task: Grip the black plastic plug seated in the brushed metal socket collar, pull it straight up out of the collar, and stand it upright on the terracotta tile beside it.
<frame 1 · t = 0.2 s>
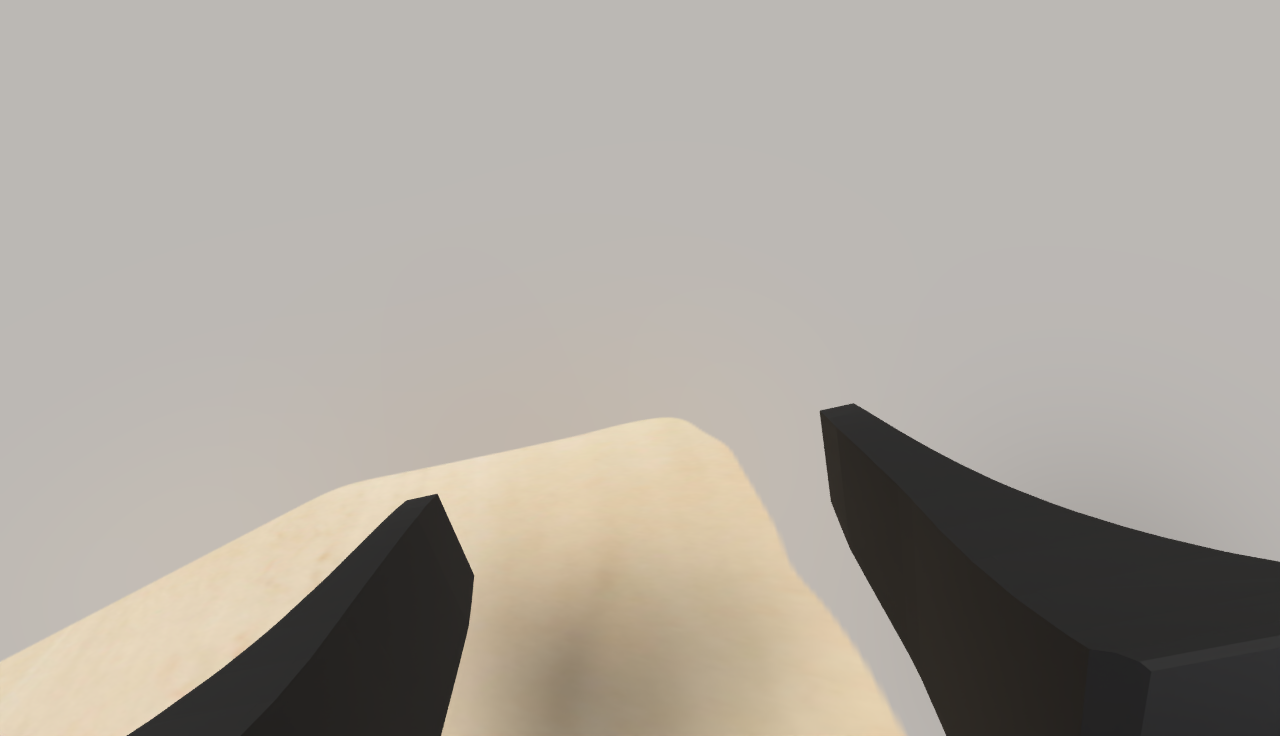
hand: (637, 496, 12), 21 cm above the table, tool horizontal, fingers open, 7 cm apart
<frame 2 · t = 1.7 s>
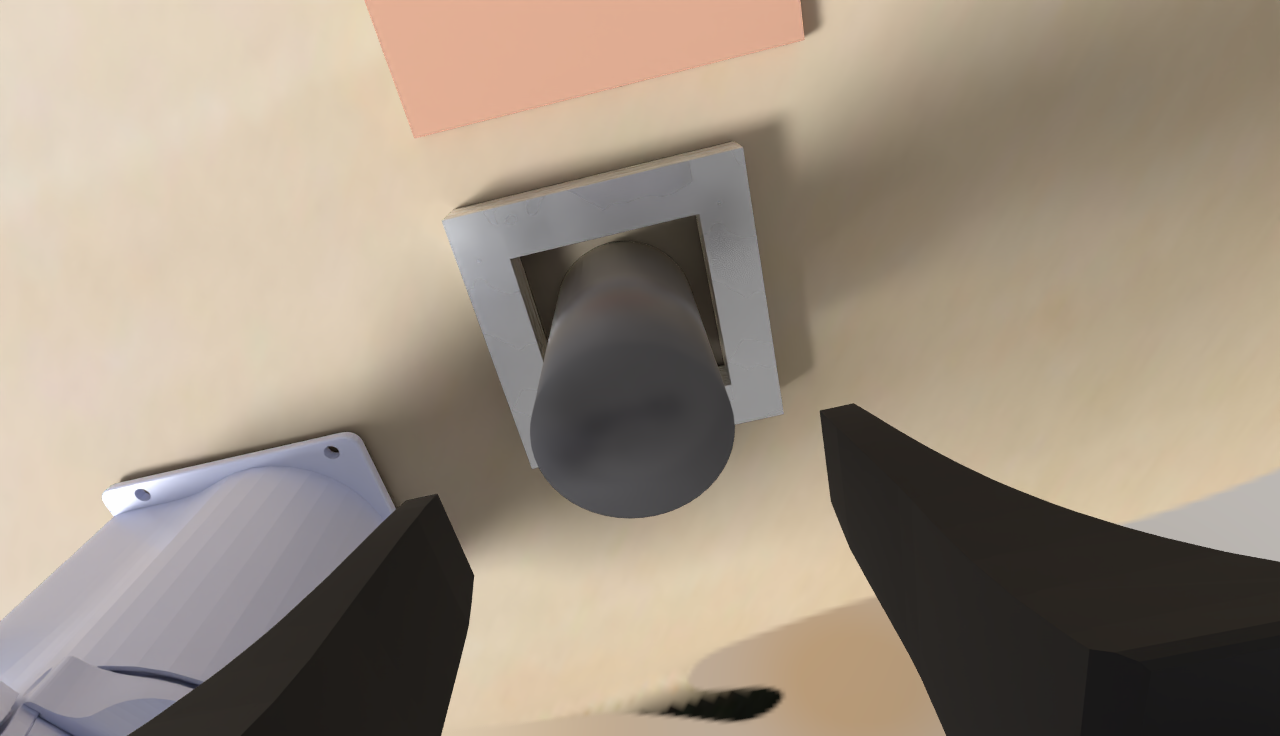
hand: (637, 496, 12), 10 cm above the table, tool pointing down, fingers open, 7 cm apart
socket collar: (625, 308, 21), on the table
plug: (625, 307, 21), resting in socket collar
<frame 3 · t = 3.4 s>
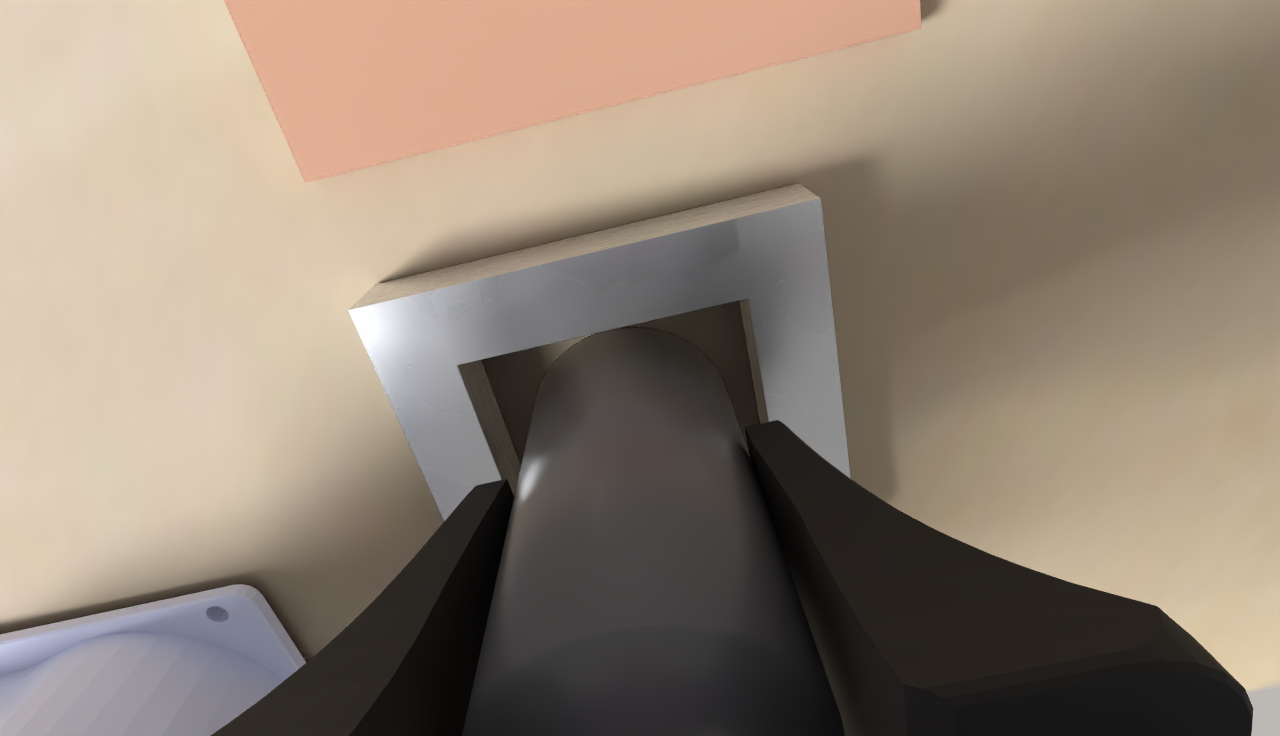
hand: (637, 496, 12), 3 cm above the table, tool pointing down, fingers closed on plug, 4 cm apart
socket collar: (632, 418, 15), on the table
plug: (632, 418, 15), resting in socket collar, touching gripper
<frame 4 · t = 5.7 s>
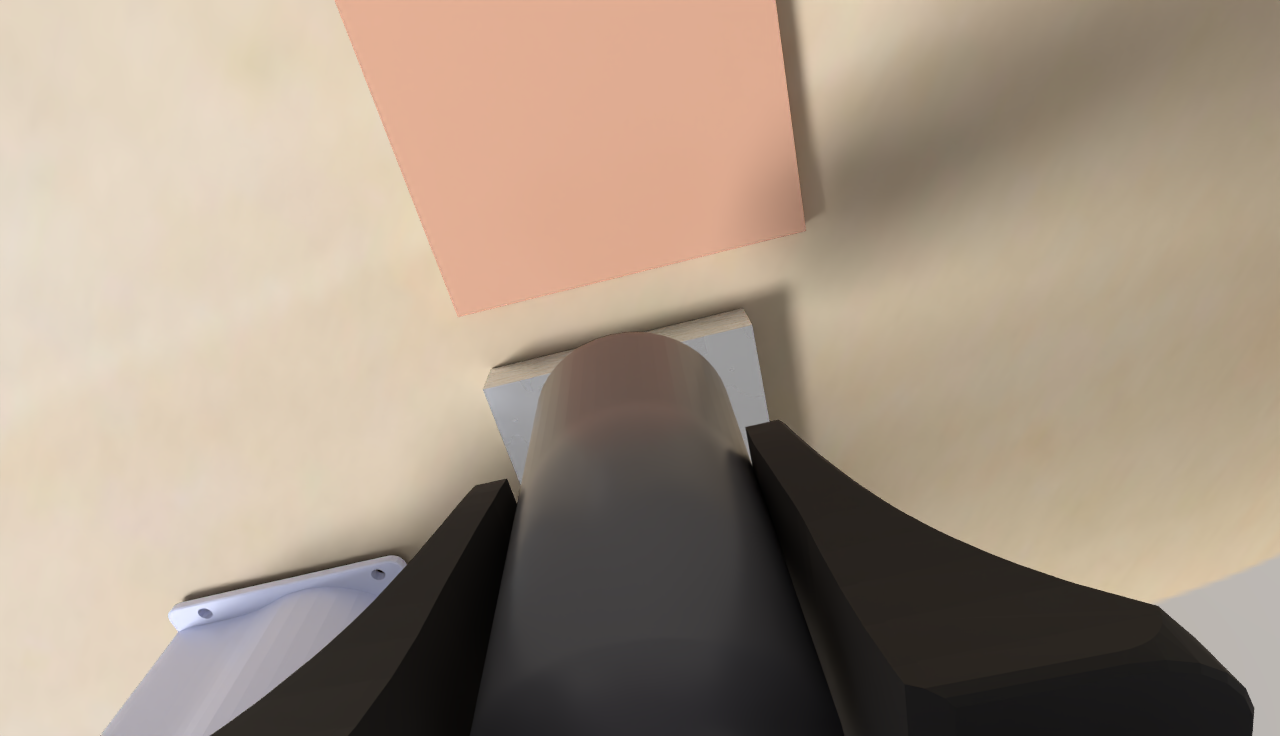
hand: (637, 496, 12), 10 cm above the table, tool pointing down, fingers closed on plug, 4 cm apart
socket collar: (645, 446, 23), on the table
tile: (580, 84, 18), on the table
plug: (633, 421, 15), point 7 cm above the table, touching gripper
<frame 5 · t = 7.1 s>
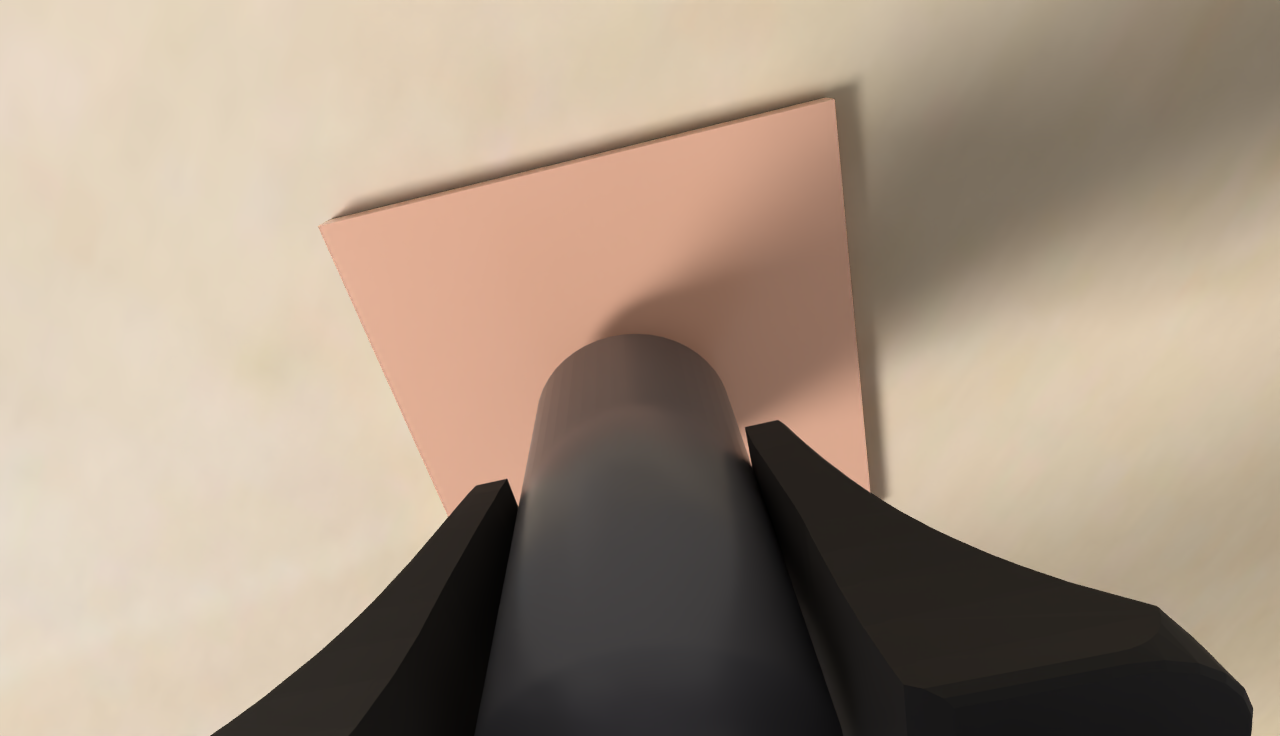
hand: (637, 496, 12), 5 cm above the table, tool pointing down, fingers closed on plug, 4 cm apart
tile: (630, 382, 16), on the table
plug: (634, 422, 15), point 2 cm above the table, touching gripper
when the fingers open (5 cm above the table, at t = 8.0 s): plug stays where it is, resting on tile.
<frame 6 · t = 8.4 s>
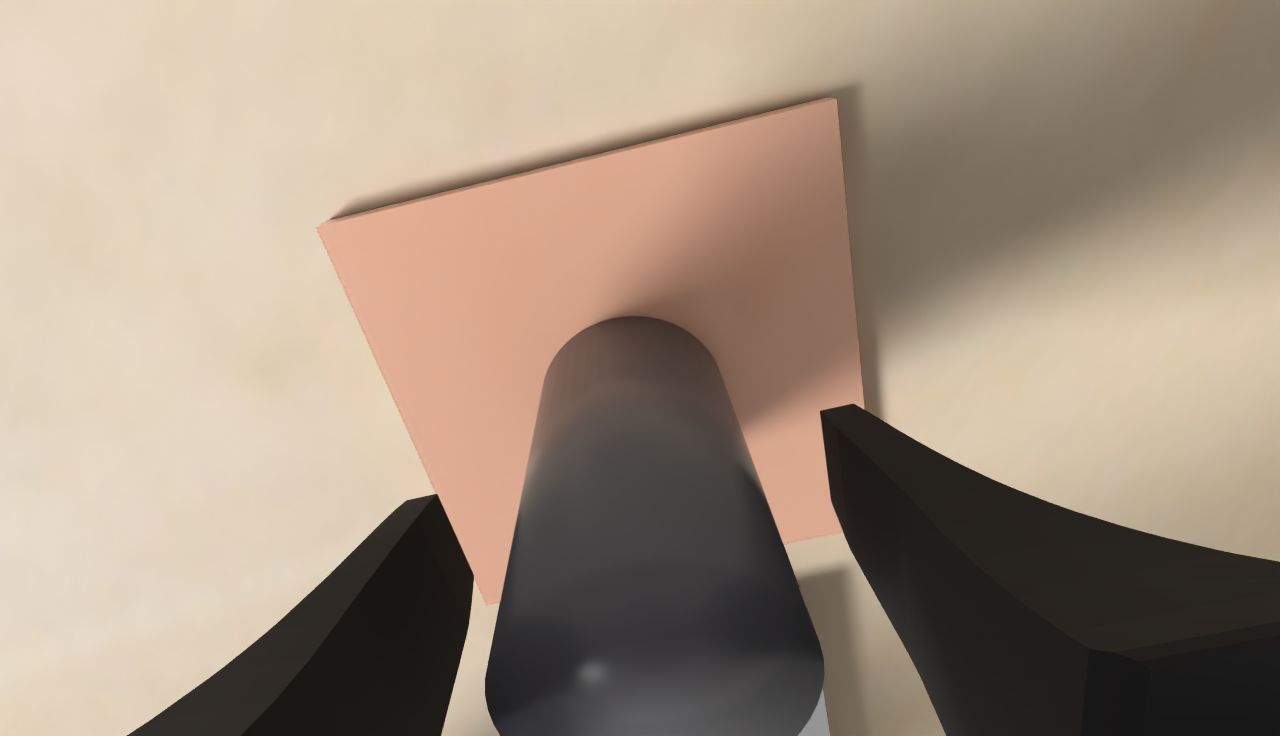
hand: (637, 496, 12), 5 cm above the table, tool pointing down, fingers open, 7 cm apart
socket collar: (685, 706, 21), on the table
tile: (630, 384, 16), on the table
plug: (633, 401, 16), point 1 cm above the table, touching tile
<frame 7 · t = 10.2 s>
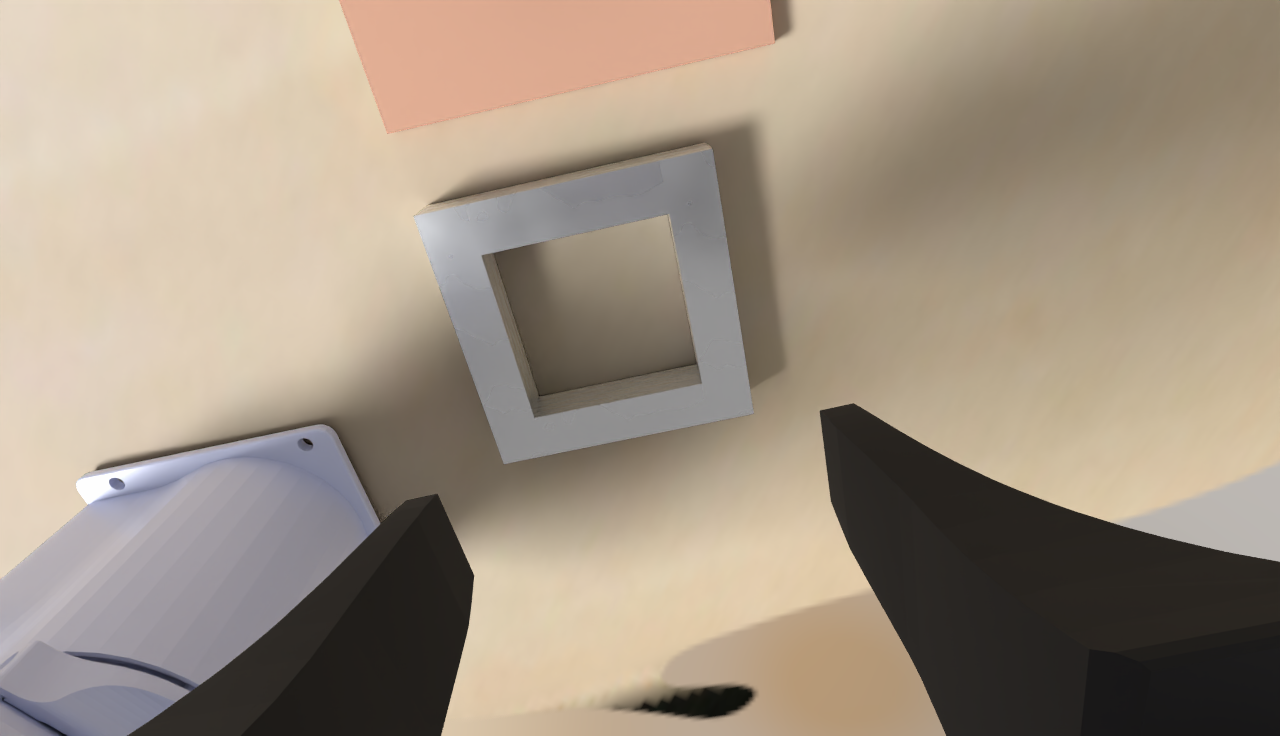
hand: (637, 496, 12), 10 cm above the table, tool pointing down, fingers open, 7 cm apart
socket collar: (598, 306, 21), on the table
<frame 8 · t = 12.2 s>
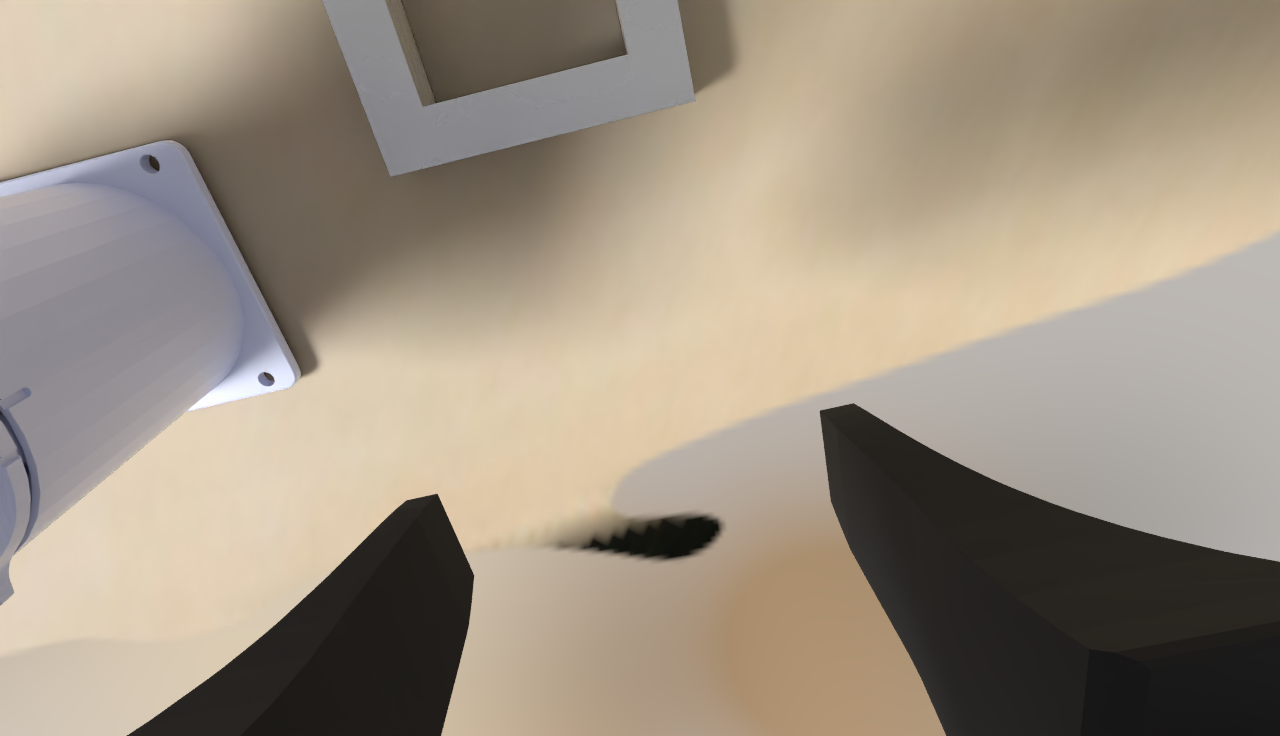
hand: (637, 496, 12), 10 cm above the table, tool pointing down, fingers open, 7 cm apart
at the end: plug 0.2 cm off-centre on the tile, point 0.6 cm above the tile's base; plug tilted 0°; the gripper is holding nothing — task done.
